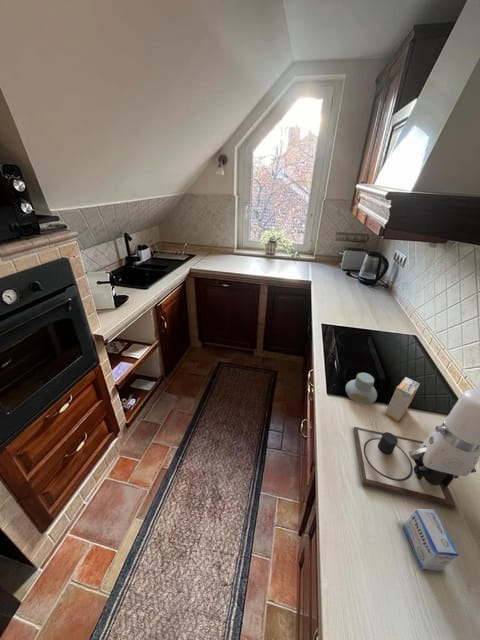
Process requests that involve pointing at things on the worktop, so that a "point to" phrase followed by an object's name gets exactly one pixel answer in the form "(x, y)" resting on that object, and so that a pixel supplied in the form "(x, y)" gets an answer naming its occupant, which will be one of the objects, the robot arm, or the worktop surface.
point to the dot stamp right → (434, 476)
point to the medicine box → (429, 540)
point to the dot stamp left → (387, 443)
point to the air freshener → (362, 389)
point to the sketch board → (395, 469)
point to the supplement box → (402, 398)
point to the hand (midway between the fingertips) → (430, 477)
